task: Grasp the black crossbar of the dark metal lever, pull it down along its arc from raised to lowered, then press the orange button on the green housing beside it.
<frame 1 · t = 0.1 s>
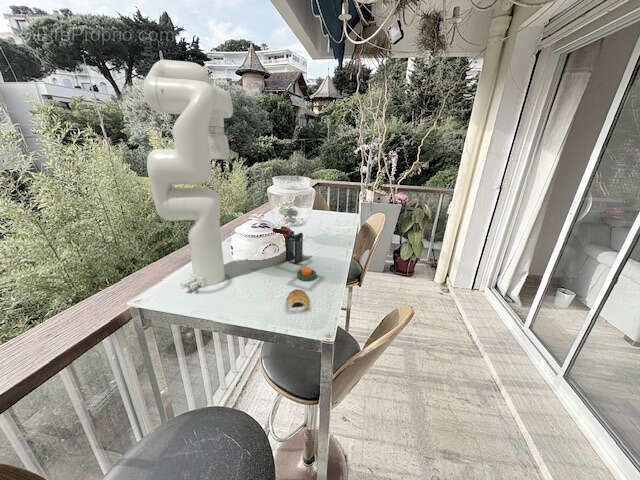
hand: (219, 172, 120), 31 cm above the table, tool pointing down, fingers open, 9 cm apart
button: (306, 271, 92), point 4 cm above the table, slide at 0.2 cm
bracket: (294, 263, 105), on the table
tomato: (283, 241, 128), on the table
pastry: (297, 305, 79), on the table
button box: (306, 280, 93), on the table
lever: (288, 235, 97), point 13 cm above the table, hinge at 30.0°
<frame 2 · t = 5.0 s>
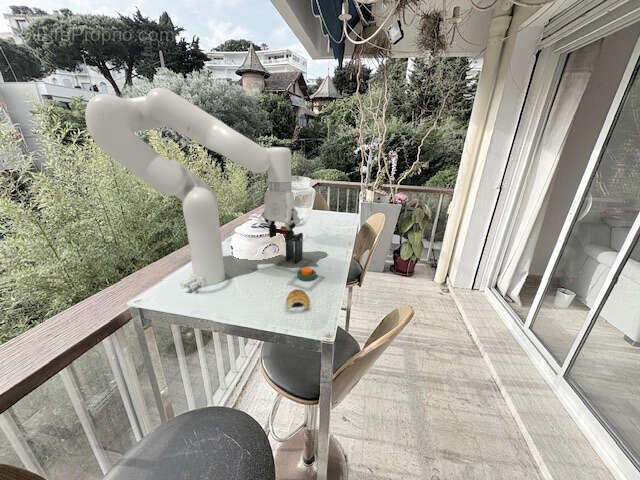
hand: (280, 237, 93), 14 cm above the table, tool pointing down, fingers closed on lever, 6 cm apart
lever: (288, 235, 97), point 13 cm above the table, hinge at 30.0°, touching gripper
everything else where it was.
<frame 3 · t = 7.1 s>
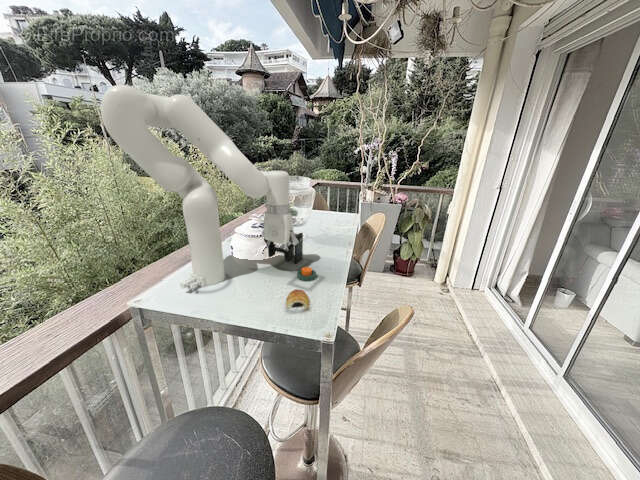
hand: (279, 257, 95), 6 cm above the table, tool pointing down, fingers closed on lever, 6 cm apart
lever: (287, 243, 98), point 10 cm above the table, hinge at -8.9°, touching gripper
everything else where it was.
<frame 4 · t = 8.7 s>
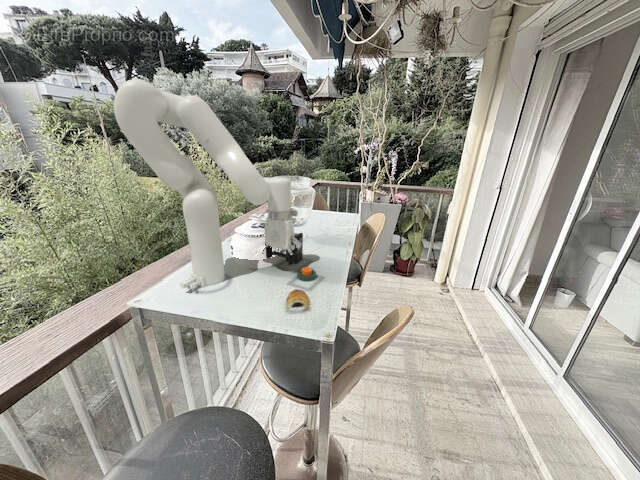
hand: (280, 260, 96), 5 cm above the table, tool pointing down, fingers open, 9 cm apart
lever: (287, 245, 98), point 9 cm above the table, hinge at -20.4°
everything else where it was.
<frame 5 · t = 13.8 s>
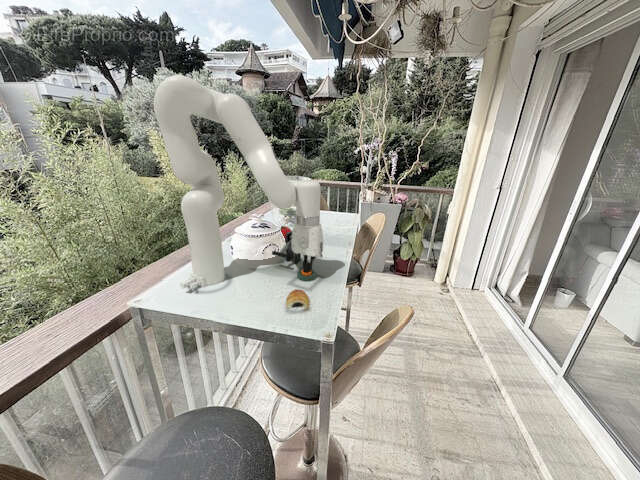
hand: (307, 270, 92), 4 cm above the table, tool pointing down, fingers closed
button: (306, 273, 92), point 3 cm above the table, slide at -0.5 cm, touching gripper
everything else where it was.
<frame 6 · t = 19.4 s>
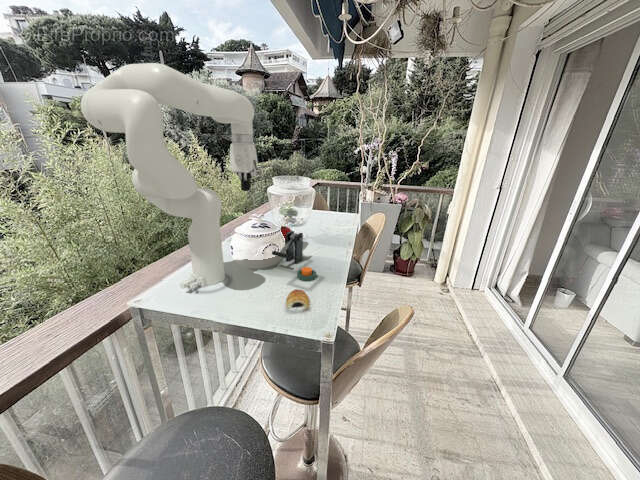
hand: (245, 190, 103), 27 cm above the table, tool pointing down, fingers closed
button: (306, 271, 92), point 4 cm above the table, slide at 0.1 cm
everything else where it was.
at the end: lever at -20° (first picture: +30°); button pushed in 1.1 cm at the most during the clip, back to where it started at the end; button slide at 0.1 cm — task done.
